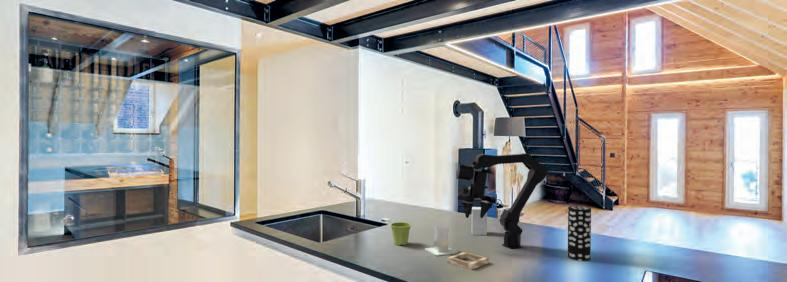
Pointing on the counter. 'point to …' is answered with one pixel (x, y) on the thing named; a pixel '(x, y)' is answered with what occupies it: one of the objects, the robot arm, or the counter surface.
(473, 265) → the oak socket frame
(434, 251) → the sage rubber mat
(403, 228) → the plant pot
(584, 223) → the white-spotted black cylinder
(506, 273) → the counter surface
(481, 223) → the supplement box
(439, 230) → the steel cap block
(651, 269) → the counter surface
